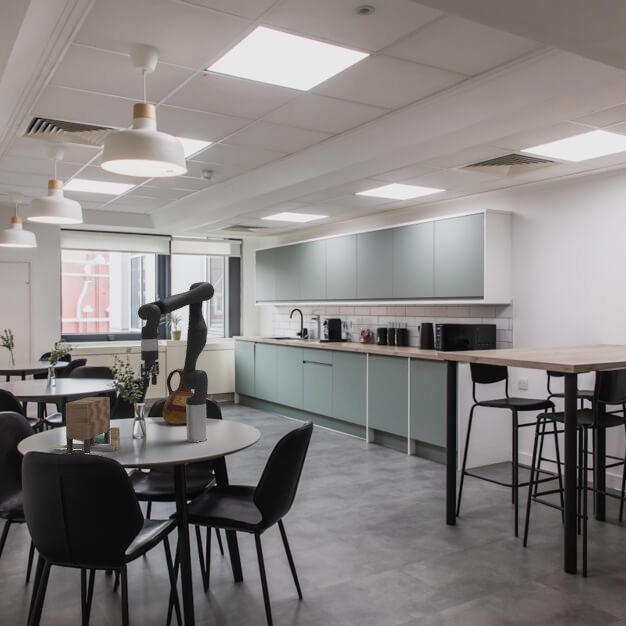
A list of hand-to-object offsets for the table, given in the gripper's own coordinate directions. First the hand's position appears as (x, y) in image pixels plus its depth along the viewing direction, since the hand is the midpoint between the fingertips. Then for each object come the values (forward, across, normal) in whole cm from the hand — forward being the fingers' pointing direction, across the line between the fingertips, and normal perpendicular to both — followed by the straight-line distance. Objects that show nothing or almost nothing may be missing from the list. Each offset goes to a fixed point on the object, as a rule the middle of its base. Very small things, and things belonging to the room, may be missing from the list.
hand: (150, 385), depth 276 cm
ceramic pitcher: (+28, +63, +10) cm, 70 cm away
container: (+29, +14, +36) cm, 48 cm away
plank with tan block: (+28, -3, +27) cm, 39 cm away
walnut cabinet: (+28, -3, +28) cm, 40 cm away
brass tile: (+29, -3, +41) cm, 50 cm away
